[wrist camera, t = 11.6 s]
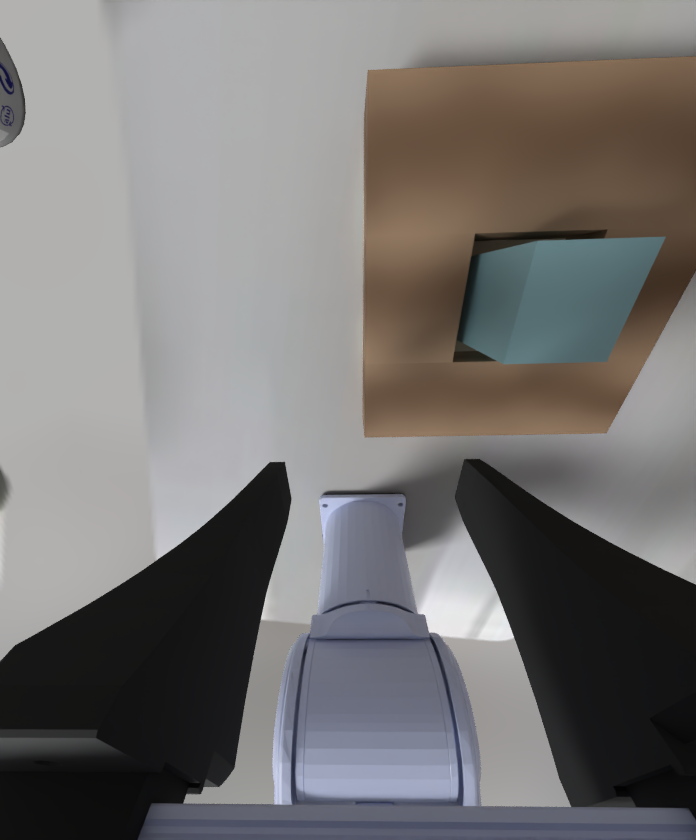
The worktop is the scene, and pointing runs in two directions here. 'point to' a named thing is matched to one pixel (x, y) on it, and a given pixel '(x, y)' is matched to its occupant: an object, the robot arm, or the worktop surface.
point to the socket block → (515, 228)
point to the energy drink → (10, 99)
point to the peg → (554, 298)
